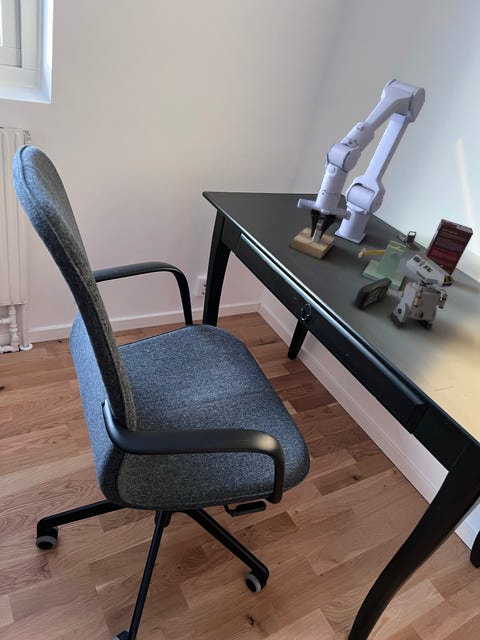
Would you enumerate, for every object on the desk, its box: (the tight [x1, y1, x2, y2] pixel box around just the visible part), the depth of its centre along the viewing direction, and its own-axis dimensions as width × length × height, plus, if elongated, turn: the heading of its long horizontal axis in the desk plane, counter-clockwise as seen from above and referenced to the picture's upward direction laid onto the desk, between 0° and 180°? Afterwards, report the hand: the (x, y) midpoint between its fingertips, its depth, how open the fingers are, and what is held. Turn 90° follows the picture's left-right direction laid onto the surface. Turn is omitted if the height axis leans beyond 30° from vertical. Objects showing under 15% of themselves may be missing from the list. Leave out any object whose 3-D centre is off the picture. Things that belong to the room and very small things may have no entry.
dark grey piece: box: [353, 278, 392, 309], centre depth 114 cm, size 5×3×15 cm
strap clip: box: [398, 230, 419, 250], centre depth 152 cm, size 8×3×4 cm, turn 15°
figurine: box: [387, 253, 455, 329], centre depth 107 cm, size 9×12×15 cm
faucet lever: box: [357, 246, 401, 259], centre depth 126 cm, size 10×6×2 cm, turn 63°
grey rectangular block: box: [312, 222, 322, 243], centre depth 131 cm, size 6×2×4 cm, turn 174°
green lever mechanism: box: [362, 239, 407, 291], centre depth 125 cm, size 10×10×9 cm
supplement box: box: [424, 218, 474, 276], centre depth 131 cm, size 9×5×16 cm, turn 71°
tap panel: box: [290, 226, 336, 260], centre depth 133 cm, size 12×10×3 cm
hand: (315, 236), depth 132 cm, fingers closed on grey rectangular block, 2 cm apart
